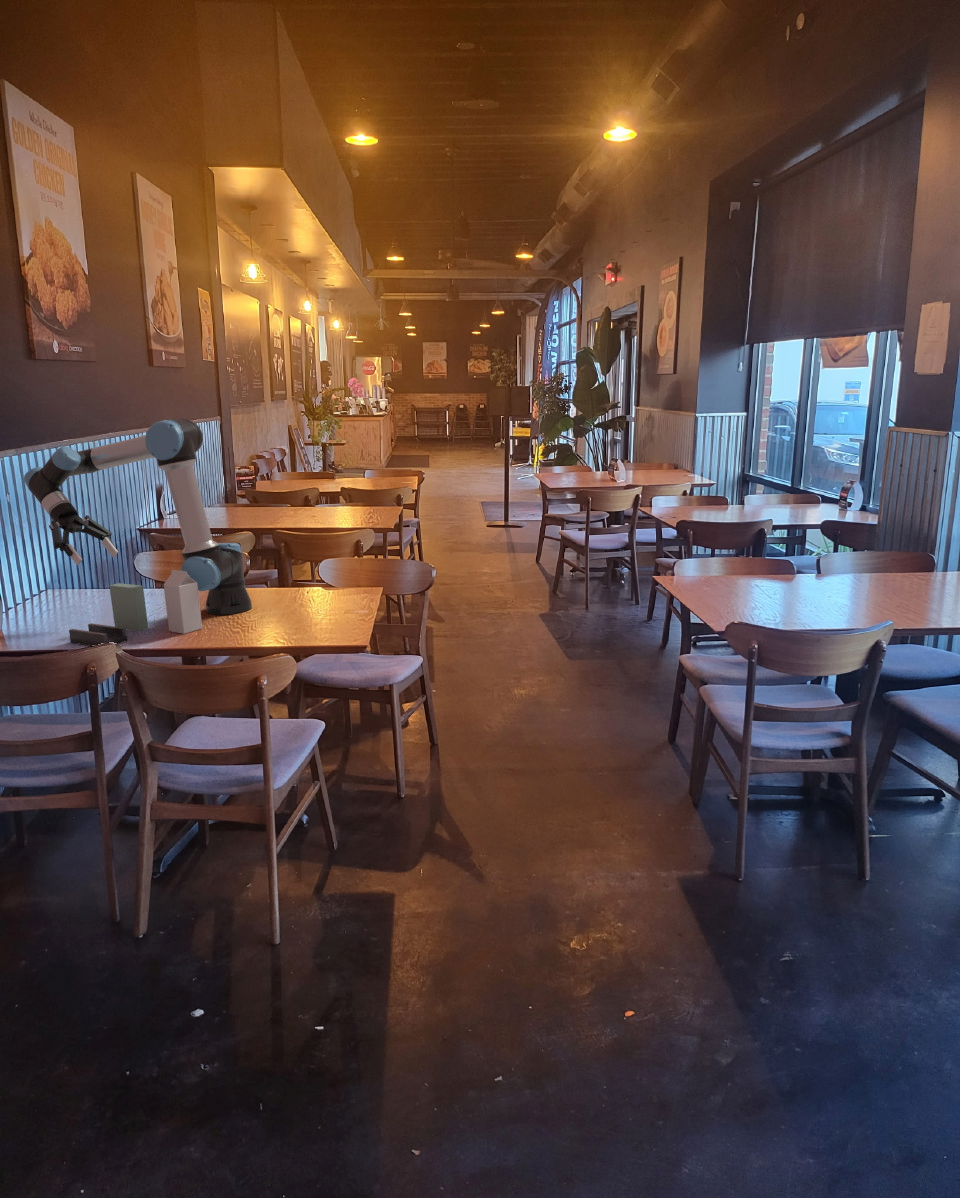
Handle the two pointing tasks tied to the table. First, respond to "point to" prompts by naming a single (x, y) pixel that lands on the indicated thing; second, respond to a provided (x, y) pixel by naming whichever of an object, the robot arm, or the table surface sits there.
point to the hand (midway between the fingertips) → (98, 558)
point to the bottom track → (98, 635)
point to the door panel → (129, 606)
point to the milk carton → (182, 603)
